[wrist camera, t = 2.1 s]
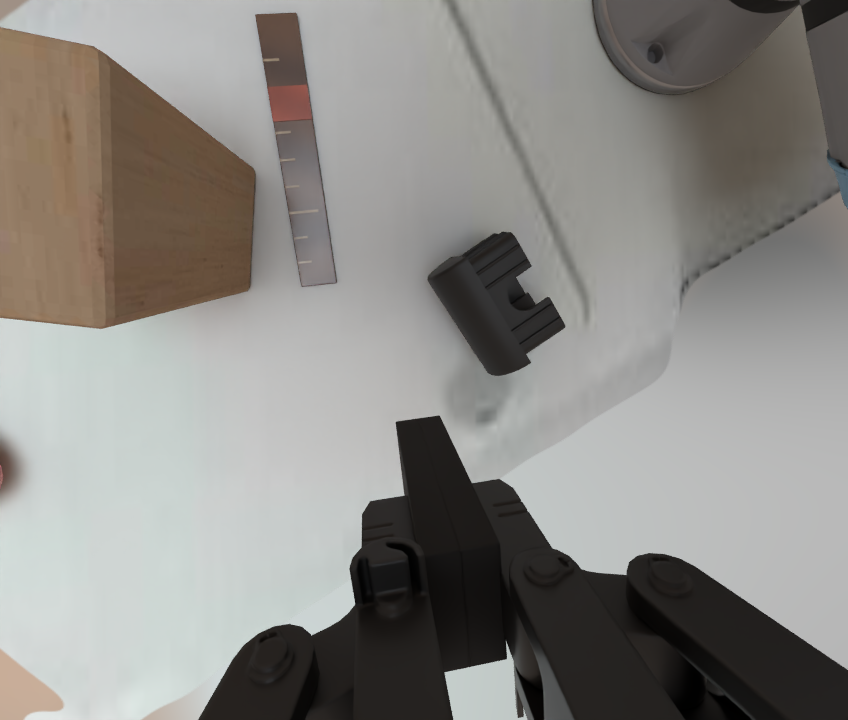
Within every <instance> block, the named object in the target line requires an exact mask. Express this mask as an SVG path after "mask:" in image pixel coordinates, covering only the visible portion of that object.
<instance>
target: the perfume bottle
mask: <svg viewBox="0 0 848 720" xmlns="http://www.w3.org/2000/svg"><path fill="white" fill-rule="evenodd" d="M2 481H3V473H2V467H1V465H0V487H1V484H2Z"/></svg>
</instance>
